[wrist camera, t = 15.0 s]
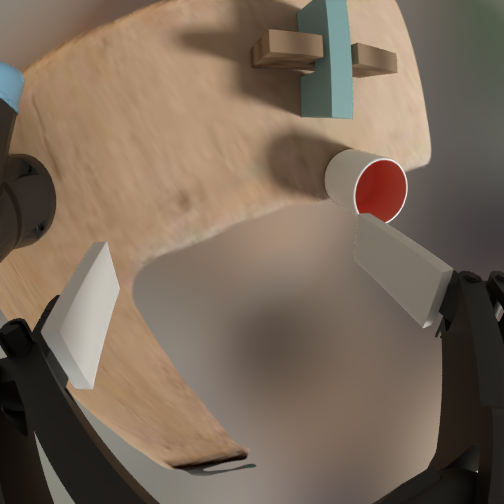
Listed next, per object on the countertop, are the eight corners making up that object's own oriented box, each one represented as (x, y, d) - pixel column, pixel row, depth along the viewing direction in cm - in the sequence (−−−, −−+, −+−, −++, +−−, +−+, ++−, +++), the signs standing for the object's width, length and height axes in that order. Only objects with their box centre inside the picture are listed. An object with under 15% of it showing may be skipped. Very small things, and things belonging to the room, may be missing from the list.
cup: (314, 158, 42) (346, 169, 33) (365, 141, 42) (403, 150, 33) (328, 213, 47) (359, 236, 38) (375, 194, 47) (410, 212, 38)
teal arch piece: (319, 117, 39) (353, 119, 30) (301, 116, 39) (331, 117, 30) (314, 16, 31) (345, -5, 22) (296, 13, 31) (324, -10, 22)
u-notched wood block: (251, 67, 34) (269, 51, 25) (250, 49, 32) (269, 29, 24) (359, 77, 37) (397, 72, 28) (358, 61, 36) (396, 53, 27)
